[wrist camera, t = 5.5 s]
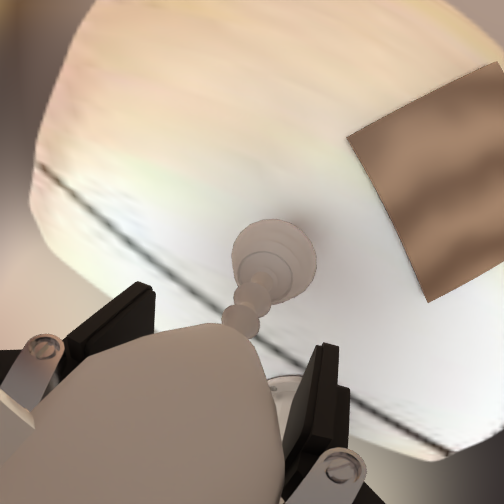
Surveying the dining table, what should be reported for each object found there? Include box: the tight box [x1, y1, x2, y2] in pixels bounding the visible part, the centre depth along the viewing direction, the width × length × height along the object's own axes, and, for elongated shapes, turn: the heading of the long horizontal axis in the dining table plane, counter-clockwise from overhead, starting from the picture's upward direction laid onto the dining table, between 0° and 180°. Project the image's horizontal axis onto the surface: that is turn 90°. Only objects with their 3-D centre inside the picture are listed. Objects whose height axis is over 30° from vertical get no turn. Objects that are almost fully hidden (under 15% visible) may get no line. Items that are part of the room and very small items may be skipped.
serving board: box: [346, 62, 504, 303], centre depth 22 cm, size 16×16×2 cm
